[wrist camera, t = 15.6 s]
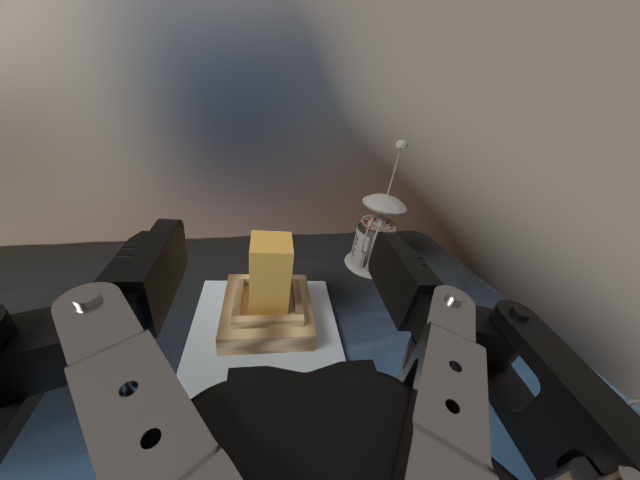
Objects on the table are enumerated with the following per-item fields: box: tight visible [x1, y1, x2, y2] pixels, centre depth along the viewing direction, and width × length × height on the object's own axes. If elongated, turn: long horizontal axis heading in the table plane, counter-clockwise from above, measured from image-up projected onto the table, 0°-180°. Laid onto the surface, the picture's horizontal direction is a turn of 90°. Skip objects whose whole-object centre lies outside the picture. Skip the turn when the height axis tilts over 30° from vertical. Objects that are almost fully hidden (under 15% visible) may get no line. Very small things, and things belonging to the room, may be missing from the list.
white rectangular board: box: [176, 281, 346, 399], centre depth 32 cm, size 20×32×1 cm, turn 9°
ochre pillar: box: [249, 230, 294, 316], centre depth 35 cm, size 5×5×10 cm
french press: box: [344, 140, 408, 279], centre depth 49 cm, size 10×12×25 cm
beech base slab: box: [215, 274, 317, 356], centre depth 38 cm, size 12×12×4 cm
